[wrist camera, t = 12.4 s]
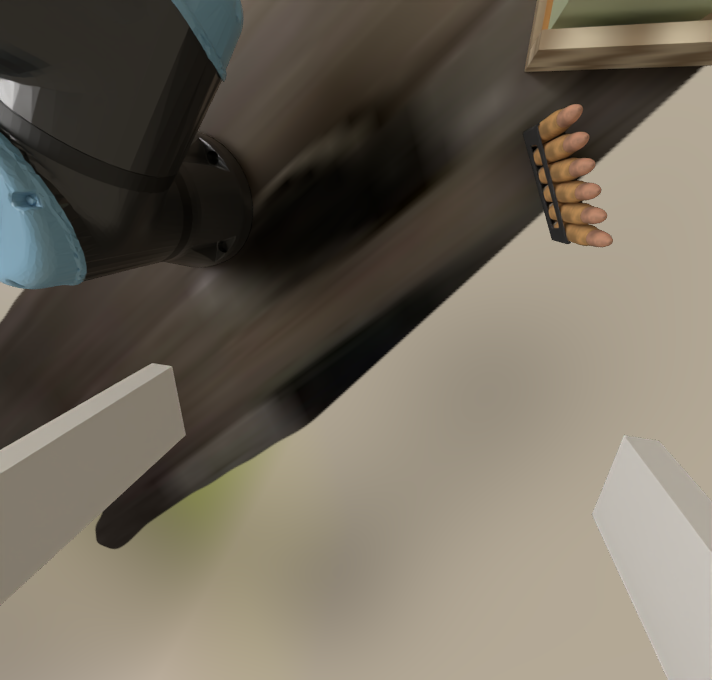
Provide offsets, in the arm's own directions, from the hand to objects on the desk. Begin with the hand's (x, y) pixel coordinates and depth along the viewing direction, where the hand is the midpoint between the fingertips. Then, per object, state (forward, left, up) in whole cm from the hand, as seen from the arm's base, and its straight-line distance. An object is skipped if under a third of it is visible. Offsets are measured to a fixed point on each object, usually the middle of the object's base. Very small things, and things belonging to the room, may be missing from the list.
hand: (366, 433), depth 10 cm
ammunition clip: (+11, +8, -32) cm, 35 cm away
